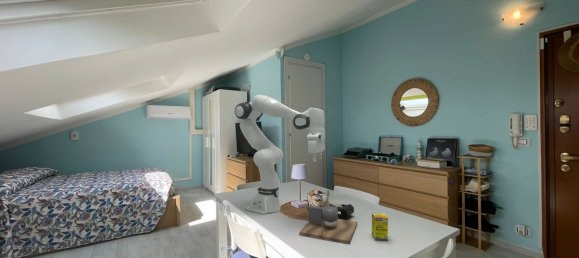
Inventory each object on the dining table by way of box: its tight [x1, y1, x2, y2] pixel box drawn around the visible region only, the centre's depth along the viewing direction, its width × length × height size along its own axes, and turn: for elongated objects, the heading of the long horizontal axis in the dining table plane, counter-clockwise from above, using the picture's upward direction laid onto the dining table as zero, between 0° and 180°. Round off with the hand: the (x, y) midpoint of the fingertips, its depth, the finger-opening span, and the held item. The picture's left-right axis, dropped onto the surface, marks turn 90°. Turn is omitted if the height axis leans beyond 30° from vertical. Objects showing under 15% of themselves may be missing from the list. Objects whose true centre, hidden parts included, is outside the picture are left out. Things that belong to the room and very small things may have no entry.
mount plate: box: [298, 219, 358, 245], centre depth 126 cm, size 24×24×6 cm
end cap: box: [336, 203, 355, 220], centre depth 143 cm, size 10×7×7 cm
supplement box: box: [371, 212, 389, 242], centre depth 116 cm, size 6×6×11 cm
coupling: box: [308, 205, 339, 224], centre depth 127 cm, size 15×8×8 cm, turn 66°
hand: (317, 160), depth 138 cm, fingers open, 8 cm apart
